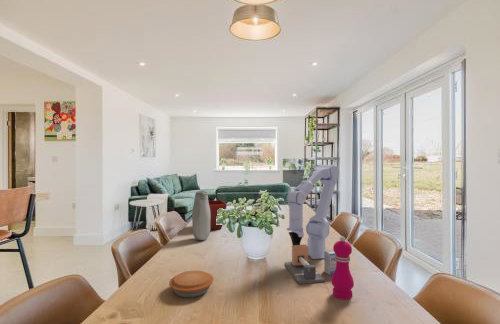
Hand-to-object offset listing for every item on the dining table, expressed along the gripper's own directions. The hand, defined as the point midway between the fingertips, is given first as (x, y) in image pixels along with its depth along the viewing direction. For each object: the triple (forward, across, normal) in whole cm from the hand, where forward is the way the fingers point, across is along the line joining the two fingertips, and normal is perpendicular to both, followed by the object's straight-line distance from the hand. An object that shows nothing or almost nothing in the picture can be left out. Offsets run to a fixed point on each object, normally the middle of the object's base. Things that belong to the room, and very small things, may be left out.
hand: (296, 248), depth 123 cm
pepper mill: (+7, +29, +7) cm, 31 cm away
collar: (+5, +5, 0) cm, 7 cm away
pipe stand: (+7, +9, 0) cm, 11 cm away
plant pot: (+7, -70, -37) cm, 79 cm away
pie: (+7, +17, -44) cm, 48 cm away
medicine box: (+7, +11, +13) cm, 19 cm away
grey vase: (+7, -44, -42) cm, 61 cm away
